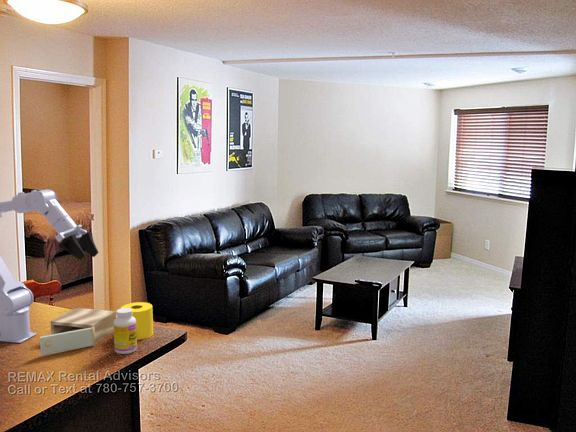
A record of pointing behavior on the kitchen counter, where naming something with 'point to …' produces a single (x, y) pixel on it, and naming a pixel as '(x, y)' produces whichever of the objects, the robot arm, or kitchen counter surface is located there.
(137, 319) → the yellow toilet paper roll
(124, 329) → the supplement bottle
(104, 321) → the cabinet
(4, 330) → the robot arm
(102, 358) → the kitchen counter surface
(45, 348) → the door
